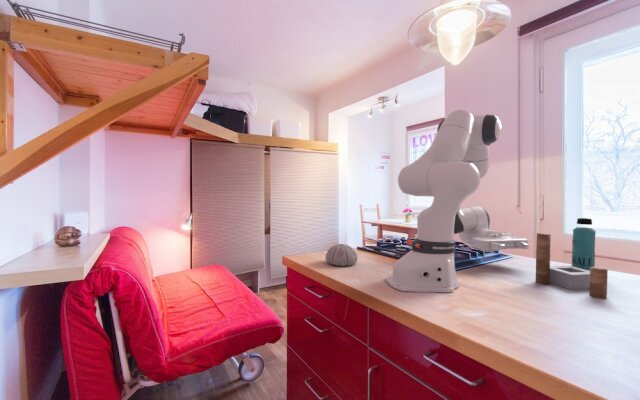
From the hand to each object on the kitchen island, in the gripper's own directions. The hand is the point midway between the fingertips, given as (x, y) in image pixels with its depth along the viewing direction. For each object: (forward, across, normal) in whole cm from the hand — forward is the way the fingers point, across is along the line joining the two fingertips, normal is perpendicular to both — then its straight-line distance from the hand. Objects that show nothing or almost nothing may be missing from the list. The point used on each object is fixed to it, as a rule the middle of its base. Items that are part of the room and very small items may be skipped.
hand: (515, 247), depth 108 cm
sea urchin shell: (-21, -60, +10) cm, 64 cm away
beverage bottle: (+3, +25, +10) cm, 27 cm away
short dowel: (+25, +5, +10) cm, 27 cm away
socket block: (+14, +8, +10) cm, 19 cm away
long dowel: (+12, 0, +10) cm, 15 cm away
